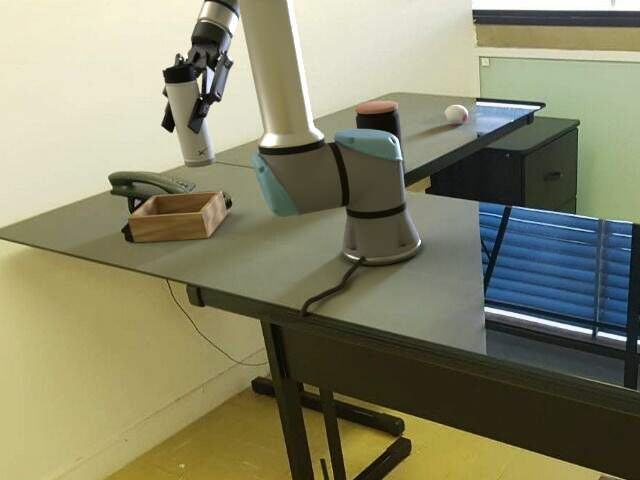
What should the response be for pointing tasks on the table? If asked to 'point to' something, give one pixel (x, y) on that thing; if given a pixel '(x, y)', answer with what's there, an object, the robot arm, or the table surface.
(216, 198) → the crate
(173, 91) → the travel mug
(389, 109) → the coffee jar
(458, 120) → the stress ball
